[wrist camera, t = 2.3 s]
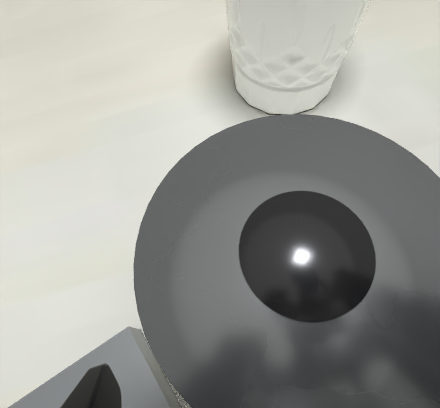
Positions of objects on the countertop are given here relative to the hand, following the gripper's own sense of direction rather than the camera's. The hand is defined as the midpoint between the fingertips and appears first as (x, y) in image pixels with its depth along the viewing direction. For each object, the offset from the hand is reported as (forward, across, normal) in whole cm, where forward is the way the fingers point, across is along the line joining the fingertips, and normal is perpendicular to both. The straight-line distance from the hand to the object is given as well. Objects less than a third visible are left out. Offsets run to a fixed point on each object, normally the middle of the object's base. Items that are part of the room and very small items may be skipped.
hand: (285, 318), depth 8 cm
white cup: (+17, -7, -4) cm, 19 cm away
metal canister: (+6, 0, +6) cm, 9 cm away
